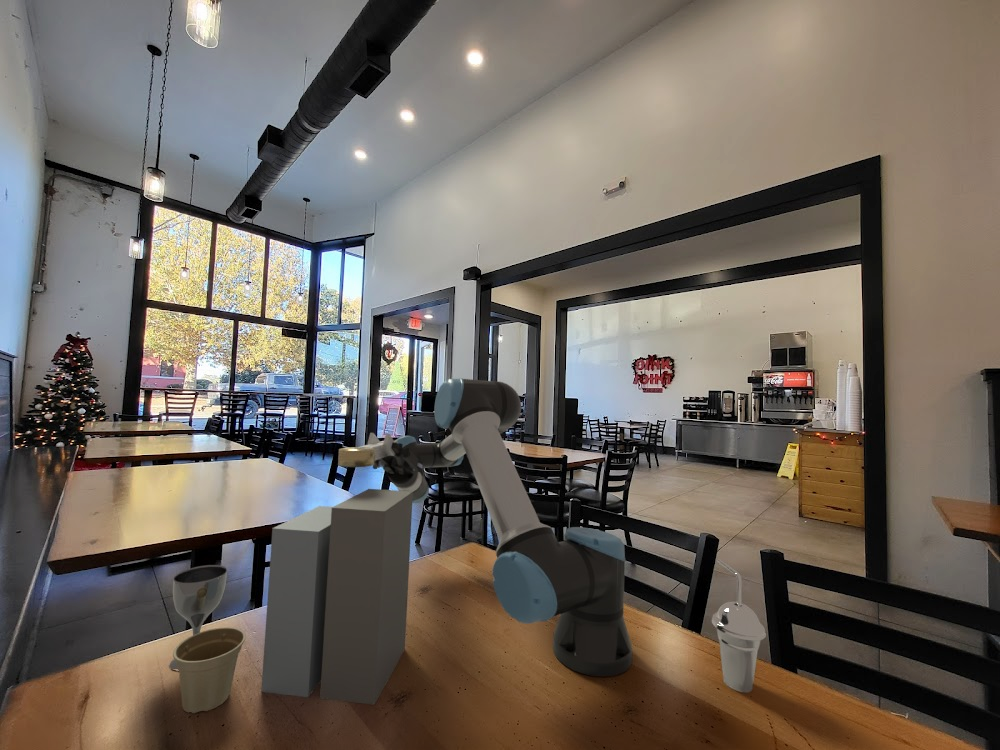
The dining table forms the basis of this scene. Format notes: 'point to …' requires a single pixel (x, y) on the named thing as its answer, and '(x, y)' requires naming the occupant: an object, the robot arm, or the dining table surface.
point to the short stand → (297, 604)
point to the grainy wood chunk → (362, 455)
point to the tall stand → (366, 594)
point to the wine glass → (198, 594)
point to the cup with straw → (738, 640)
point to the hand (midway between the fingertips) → (378, 438)
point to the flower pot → (208, 667)
